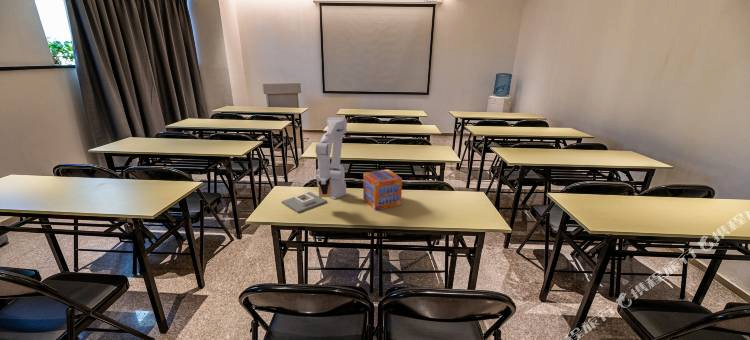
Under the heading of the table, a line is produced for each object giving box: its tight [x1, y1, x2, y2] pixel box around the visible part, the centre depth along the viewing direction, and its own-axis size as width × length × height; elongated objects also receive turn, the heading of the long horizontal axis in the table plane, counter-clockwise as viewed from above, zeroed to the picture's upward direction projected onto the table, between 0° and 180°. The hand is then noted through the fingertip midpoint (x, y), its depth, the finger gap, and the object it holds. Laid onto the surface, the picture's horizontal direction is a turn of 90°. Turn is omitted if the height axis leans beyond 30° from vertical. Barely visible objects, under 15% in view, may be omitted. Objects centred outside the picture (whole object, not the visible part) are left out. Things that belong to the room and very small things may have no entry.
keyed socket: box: [281, 191, 328, 214], centre depth 164 cm, size 18×16×3 cm
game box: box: [362, 169, 403, 211], centre depth 165 cm, size 16×16×16 cm
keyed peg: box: [317, 183, 332, 198], centre depth 155 cm, size 6×4×6 cm, turn 94°
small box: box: [316, 168, 321, 187], centre depth 188 cm, size 8×6×10 cm
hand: (325, 192), depth 155 cm, fingers closed on keyed peg, 4 cm apart
